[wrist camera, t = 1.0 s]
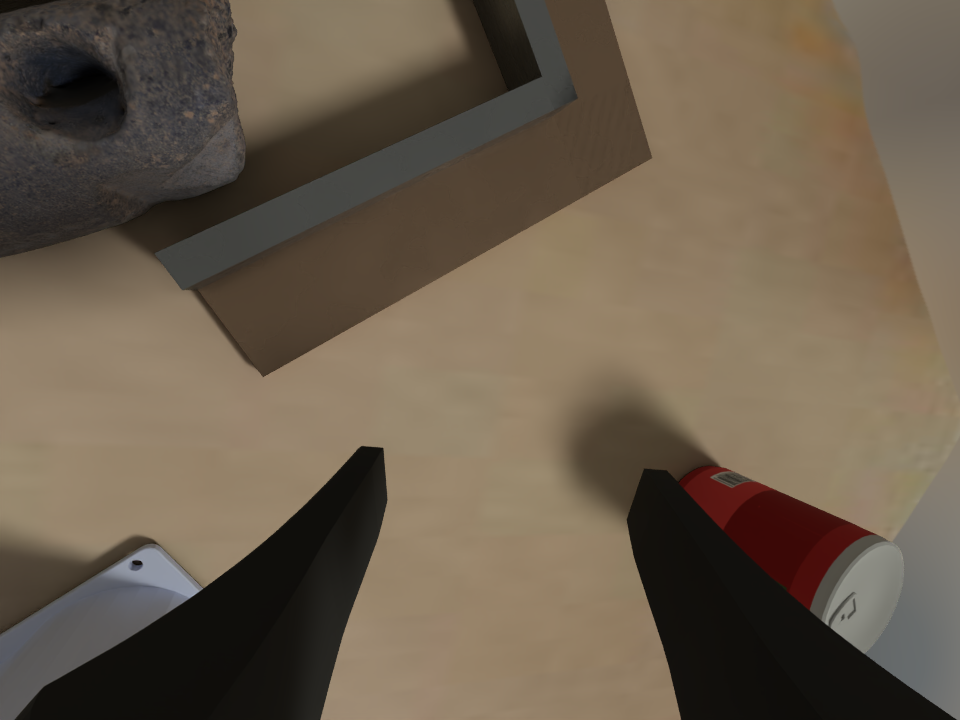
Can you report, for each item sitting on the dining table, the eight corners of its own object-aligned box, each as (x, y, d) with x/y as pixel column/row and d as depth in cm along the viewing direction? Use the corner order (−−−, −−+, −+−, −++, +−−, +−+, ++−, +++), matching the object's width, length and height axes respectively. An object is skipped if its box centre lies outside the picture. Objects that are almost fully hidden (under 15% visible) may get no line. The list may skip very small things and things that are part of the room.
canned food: (643, 515, 31) (804, 627, 21) (710, 442, 32) (891, 513, 22) (683, 570, 33) (841, 693, 23) (742, 501, 35) (916, 588, 25)
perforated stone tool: (-94, 319, 15) (-403, 342, 8) (-224, 172, 13) (-728, 65, 7) (303, 180, 19) (296, 125, 12) (239, 55, 17) (195, -83, 11)
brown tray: (265, 373, 19) (256, 387, 17) (-122, -147, 13) (-240, -264, 10) (642, 161, 25) (682, 146, 23) (509, -268, 19) (543, -363, 16)
